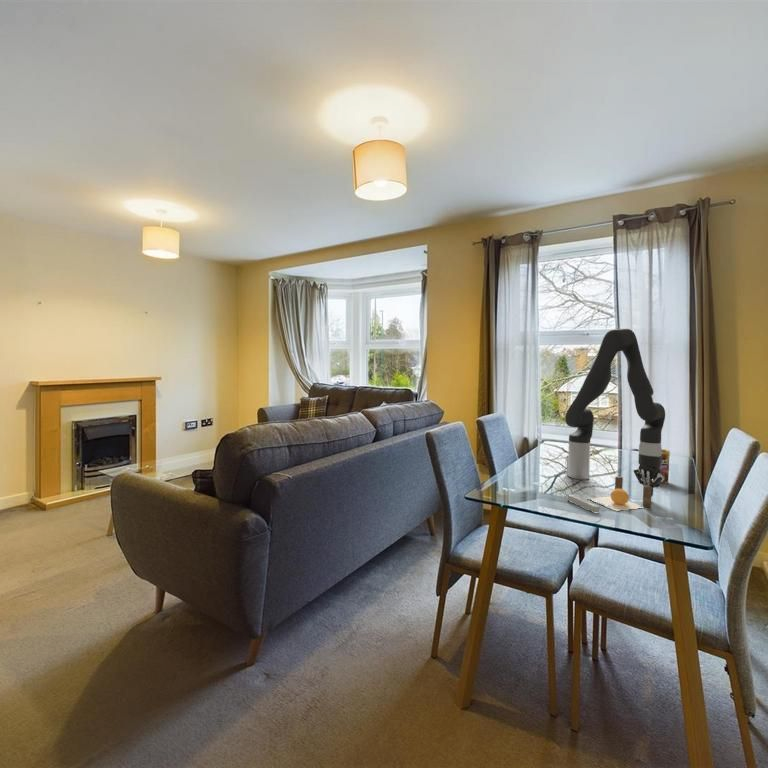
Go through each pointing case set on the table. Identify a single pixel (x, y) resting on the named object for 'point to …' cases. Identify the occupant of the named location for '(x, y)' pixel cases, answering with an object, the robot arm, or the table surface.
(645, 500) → the post
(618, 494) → the ball
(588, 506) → the wall
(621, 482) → the post
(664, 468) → the candy box
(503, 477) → the table surface
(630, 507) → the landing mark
